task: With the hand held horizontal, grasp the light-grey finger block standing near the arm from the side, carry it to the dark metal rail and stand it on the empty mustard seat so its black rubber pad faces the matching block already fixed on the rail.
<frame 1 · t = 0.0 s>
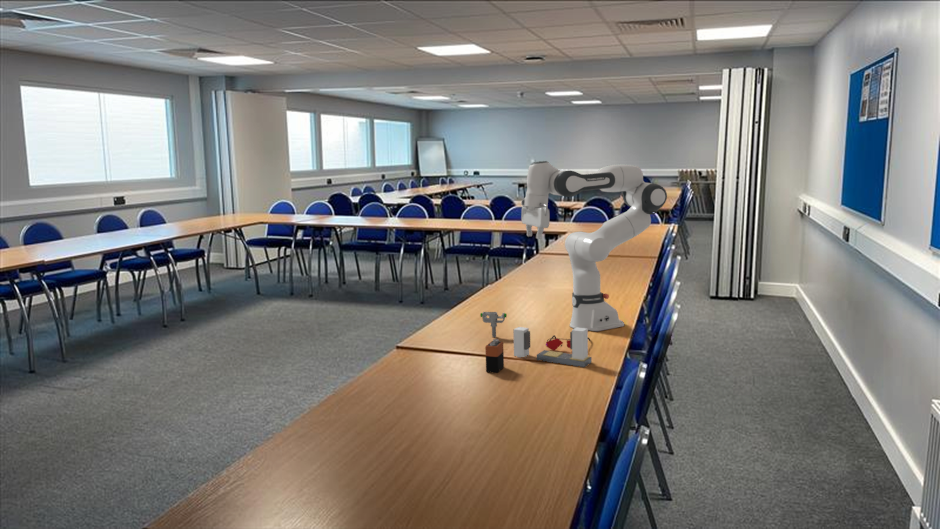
hand: (533, 237, 260), 39 cm above the table, tool pointing down, fingers open, 8 cm apart
mechanical component: (494, 337, 261), on the table
battery: (495, 370, 222), on the table
finger block 1: (521, 355, 236), on the table
rail: (563, 361, 228), on the table
finger block 2: (579, 357, 224), resting on rail
glasses: (568, 346, 247), on the table
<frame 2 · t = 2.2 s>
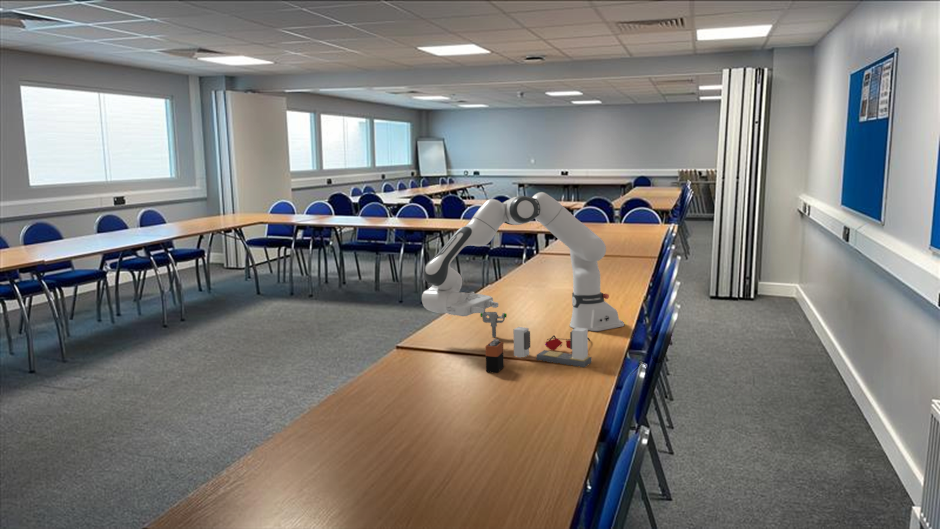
hand: (490, 307, 240), 16 cm above the table, tool horizontal, fingers open, 8 cm apart
nothing on the table moved.
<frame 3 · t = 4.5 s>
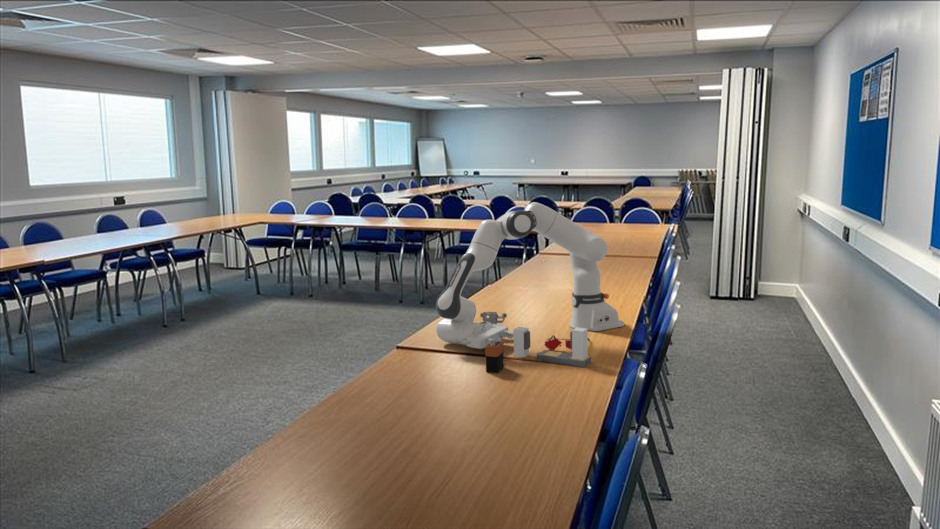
hand: (506, 339, 239), 5 cm above the table, tool horizontal, fingers open, 8 cm apart
nothing on the table moved.
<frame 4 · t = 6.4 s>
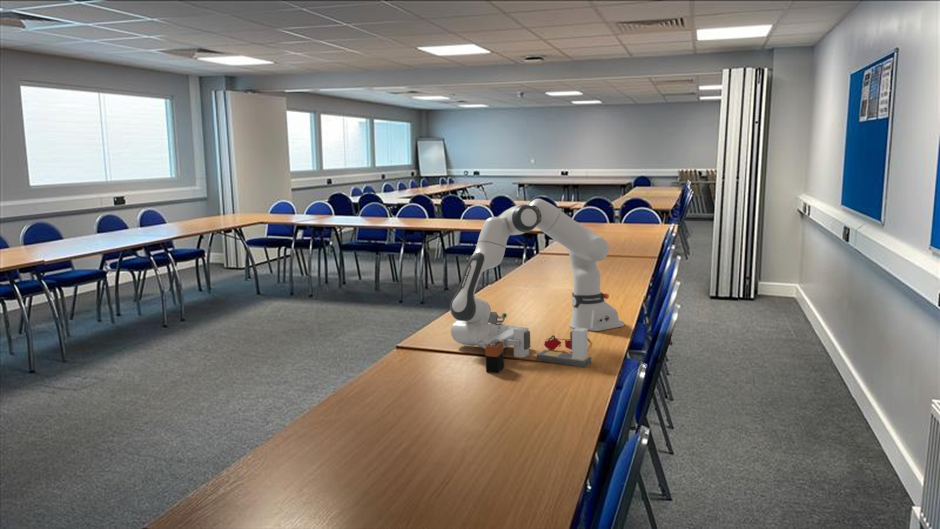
hand: (523, 341, 235), 6 cm above the table, tool horizontal, fingers closed on finger block 1, 4 cm apart
finger block 1: (521, 355, 236), on the table, touching gripper
everything else where it was.
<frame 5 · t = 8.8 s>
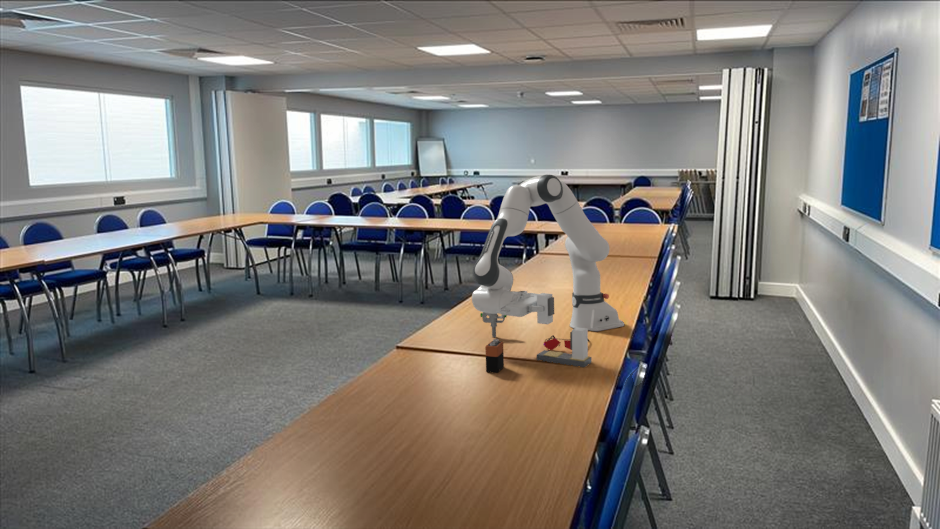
hand: (547, 307, 228), 19 cm above the table, tool horizontal, fingers closed on finger block 1, 4 cm apart
finger block 1: (545, 322, 229), point 13 cm above the table, touching gripper
everything else where it was.
when the fingers open (9 cm above the table, at t = 11.3 s): finger block 1 drops 1 cm, resting on rail.
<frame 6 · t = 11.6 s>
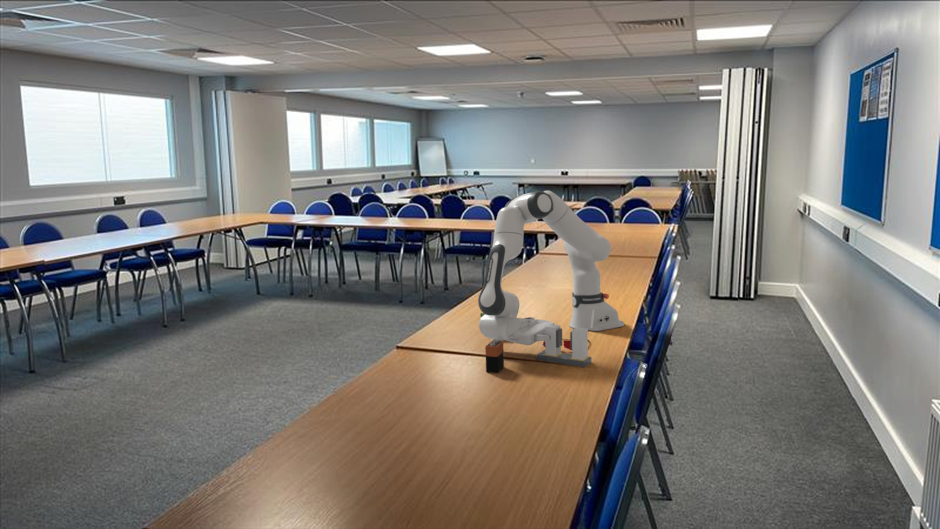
hand: (555, 335, 228), 9 cm above the table, tool horizontal, fingers open, 7 cm apart
finger block 1: (553, 353, 230), point 2 cm above the table, touching rail
everything else where it was.
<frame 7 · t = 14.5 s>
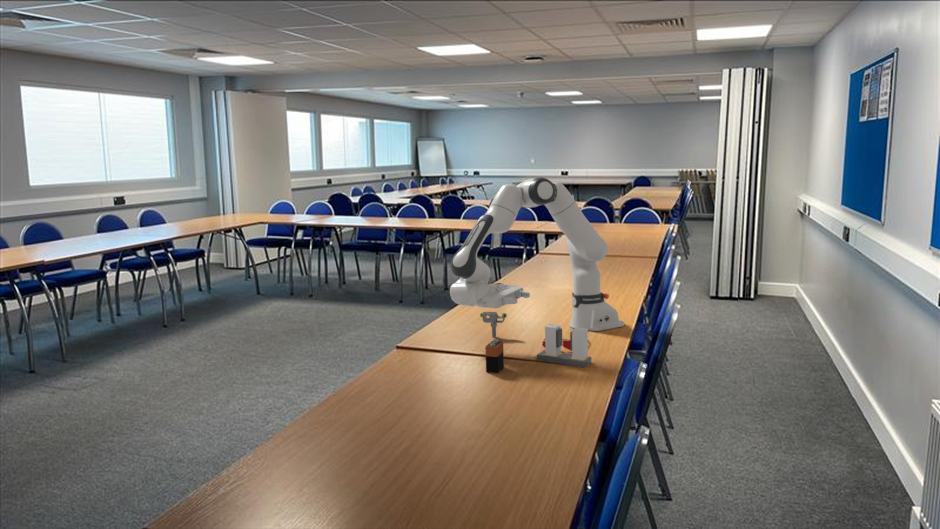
hand: (522, 298, 233), 21 cm above the table, tool horizontal, fingers open, 8 cm apart
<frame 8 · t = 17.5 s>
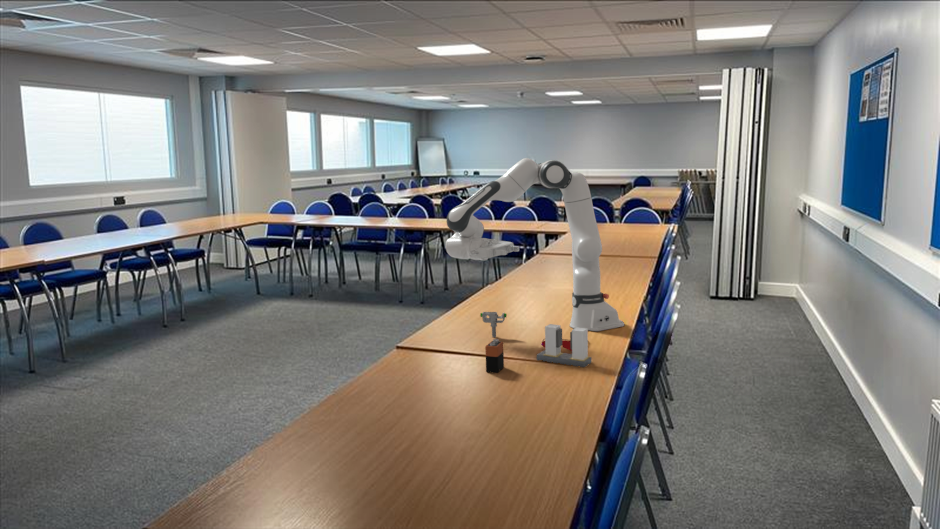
hand: (512, 250, 252), 35 cm above the table, tool horizontal, fingers open, 8 cm apart
at the end: finger block 1 inside the target area (0.1 cm from its centre), point 2.2 cm above the table; finger block 1 tilted 0°; the gripper is holding nothing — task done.
